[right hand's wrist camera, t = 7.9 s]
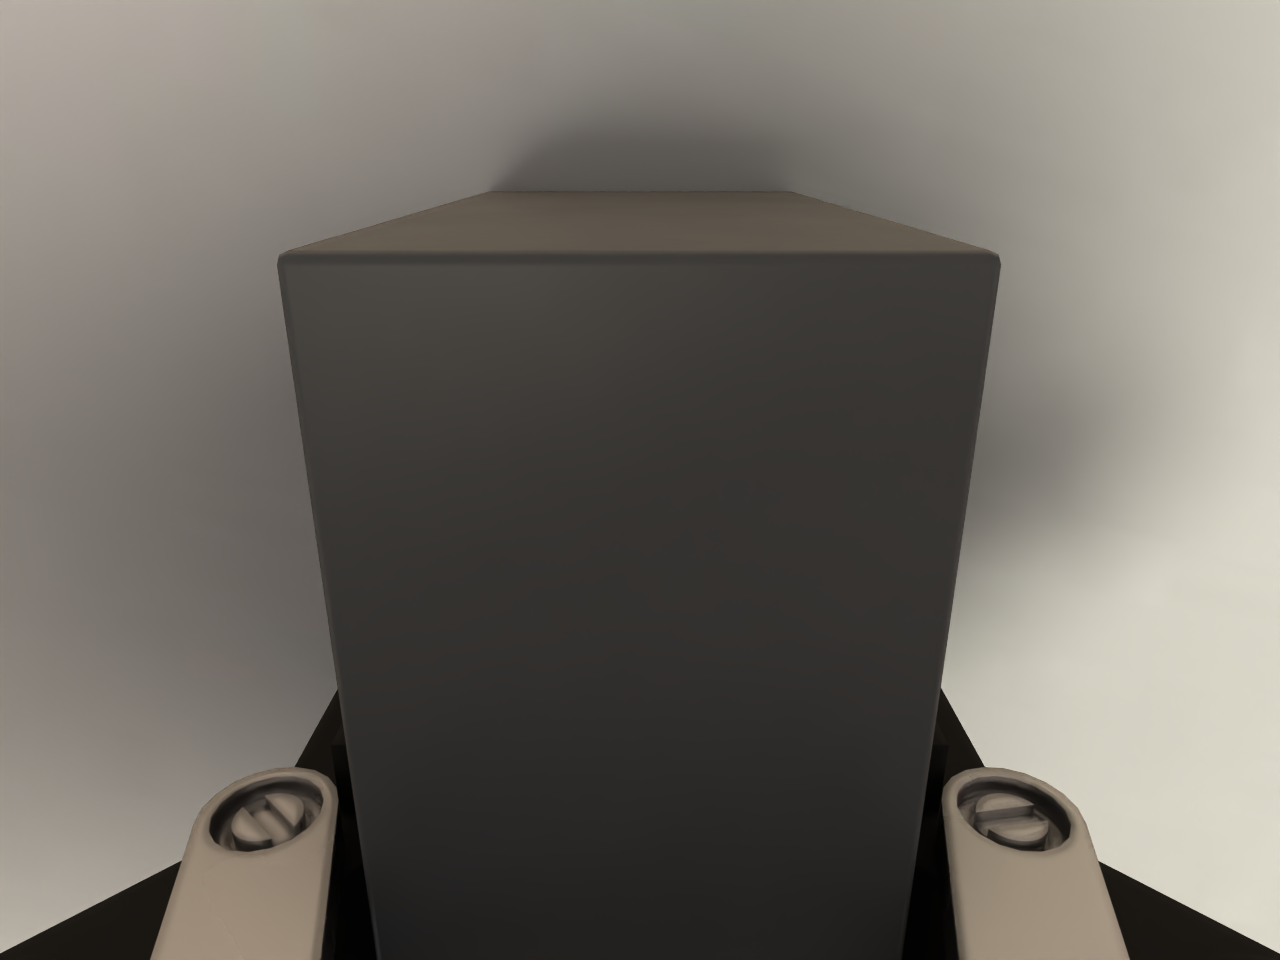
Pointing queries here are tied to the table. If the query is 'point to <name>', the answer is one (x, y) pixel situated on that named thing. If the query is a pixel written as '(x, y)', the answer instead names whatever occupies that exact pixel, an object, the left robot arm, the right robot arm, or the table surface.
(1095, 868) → the right robot arm
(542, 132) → the table surface
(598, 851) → the post
